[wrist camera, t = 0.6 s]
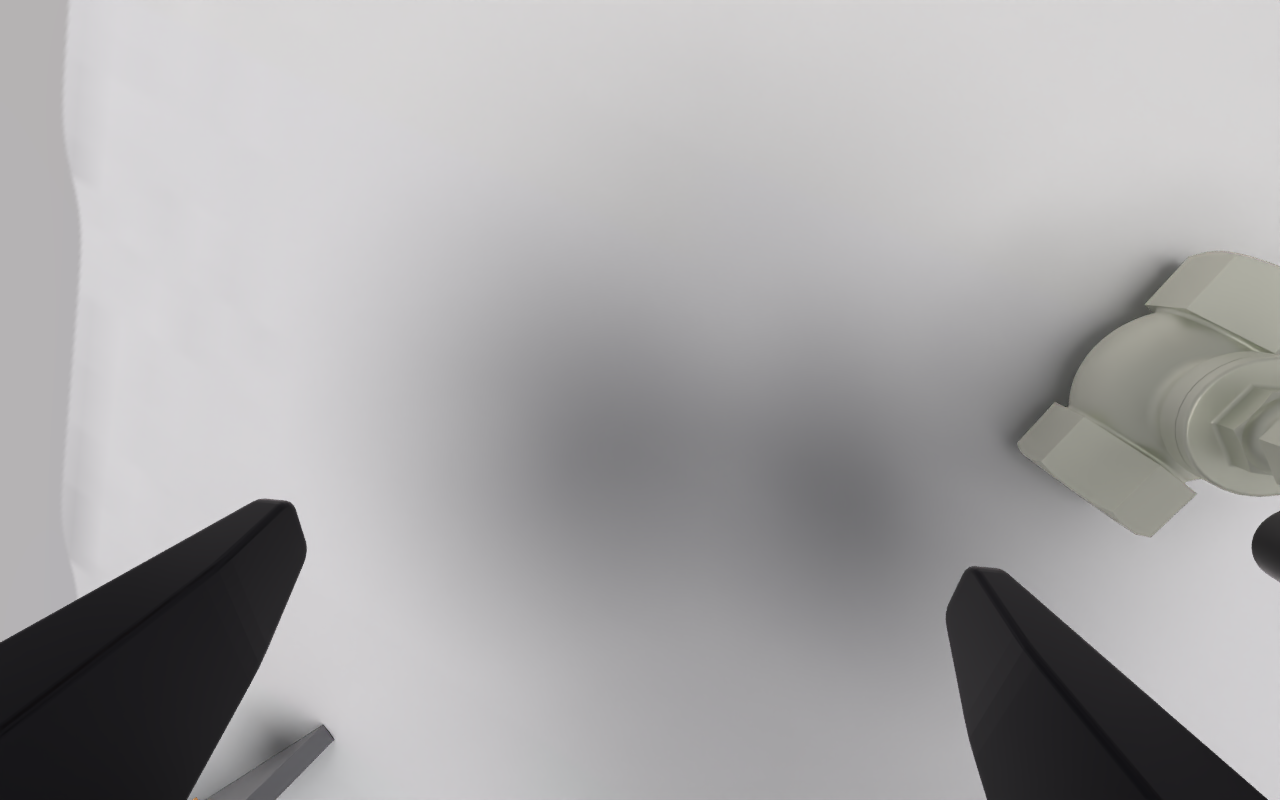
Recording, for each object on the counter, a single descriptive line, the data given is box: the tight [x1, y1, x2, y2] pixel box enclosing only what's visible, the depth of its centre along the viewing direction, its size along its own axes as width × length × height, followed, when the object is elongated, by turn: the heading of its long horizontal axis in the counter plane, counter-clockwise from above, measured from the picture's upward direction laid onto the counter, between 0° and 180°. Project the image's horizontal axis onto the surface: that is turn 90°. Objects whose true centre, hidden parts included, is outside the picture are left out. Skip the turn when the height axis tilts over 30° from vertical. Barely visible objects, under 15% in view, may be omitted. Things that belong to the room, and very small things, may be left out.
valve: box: [1017, 251, 1280, 582], centre depth 13 cm, size 7×7×12 cm
